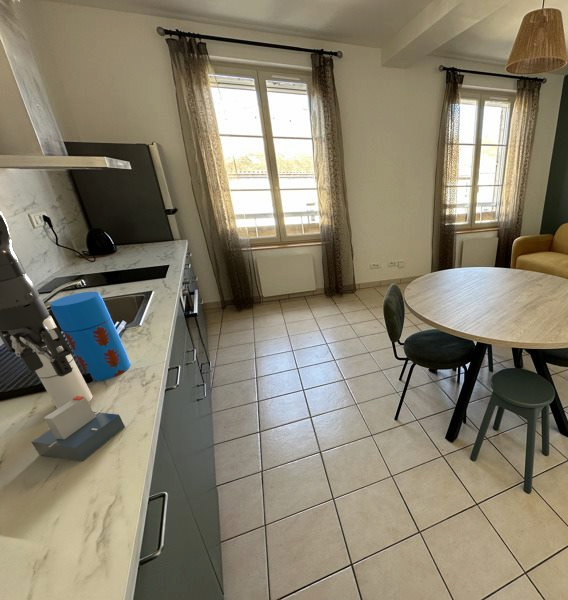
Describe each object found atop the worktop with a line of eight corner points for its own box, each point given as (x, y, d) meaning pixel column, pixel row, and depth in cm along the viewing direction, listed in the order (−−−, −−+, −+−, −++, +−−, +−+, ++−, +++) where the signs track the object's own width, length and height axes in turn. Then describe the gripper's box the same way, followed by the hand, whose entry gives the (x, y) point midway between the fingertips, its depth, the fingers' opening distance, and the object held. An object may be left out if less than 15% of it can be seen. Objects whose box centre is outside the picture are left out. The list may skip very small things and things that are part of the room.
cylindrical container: (97, 391, 94) (57, 313, 84) (84, 407, 88) (39, 325, 78) (67, 397, 92) (22, 318, 82) (51, 414, 86) (1, 330, 76)
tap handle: (64, 439, 72) (50, 417, 69) (56, 438, 72) (42, 417, 70) (96, 416, 78) (85, 396, 76) (88, 416, 79) (77, 395, 76)
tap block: (36, 457, 73) (27, 443, 71) (88, 420, 83) (81, 407, 81) (80, 463, 71) (71, 449, 69) (127, 425, 81) (121, 412, 79)
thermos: (101, 384, 97) (62, 308, 87) (79, 377, 100) (40, 303, 90) (139, 364, 106) (108, 293, 96) (118, 358, 110) (86, 289, 100)
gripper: (-42, 306, 60) (4, 378, 67) (11, 311, 57) (54, 387, 63) (11, 291, 67) (48, 358, 73) (61, 295, 63) (95, 365, 70)
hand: (51, 371), depth 68 cm, fingers open, 8 cm apart
